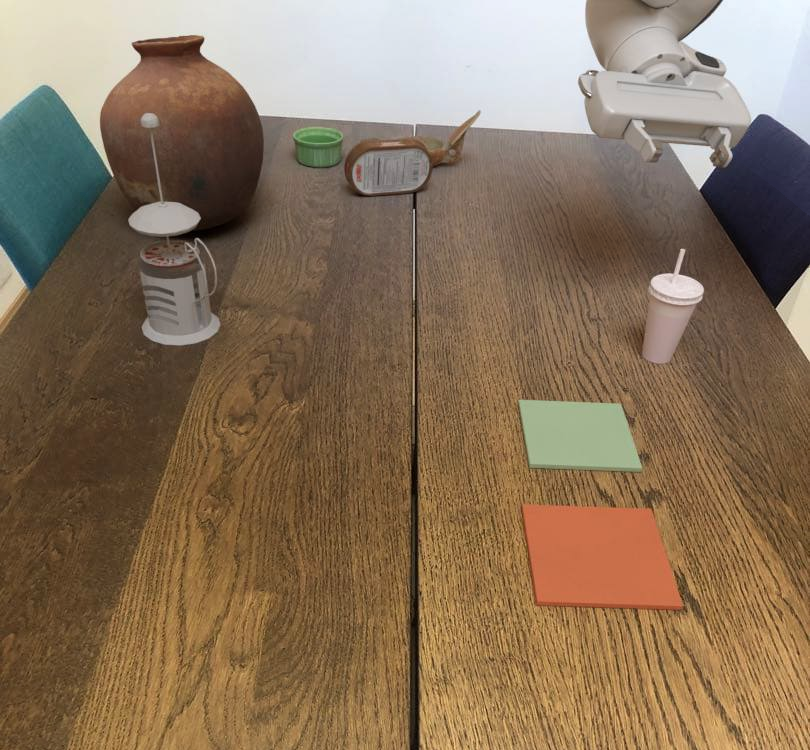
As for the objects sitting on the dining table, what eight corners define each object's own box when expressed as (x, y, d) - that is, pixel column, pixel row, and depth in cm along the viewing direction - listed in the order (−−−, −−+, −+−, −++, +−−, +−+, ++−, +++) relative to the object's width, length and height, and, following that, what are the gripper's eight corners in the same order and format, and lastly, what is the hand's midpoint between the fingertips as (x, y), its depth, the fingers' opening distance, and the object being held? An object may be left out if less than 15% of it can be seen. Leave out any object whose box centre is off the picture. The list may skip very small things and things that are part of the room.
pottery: (227, 263, 117) (206, 68, 100) (88, 234, 122) (45, 43, 105) (293, 207, 133) (285, 30, 116) (167, 183, 138) (142, 10, 121)
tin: (427, 186, 142) (430, 135, 137) (433, 193, 140) (436, 141, 134) (343, 193, 138) (343, 140, 133) (348, 200, 136) (348, 147, 131)
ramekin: (293, 151, 152) (292, 126, 149) (342, 152, 153) (342, 127, 150) (294, 169, 145) (293, 143, 142) (344, 169, 146) (344, 143, 143)
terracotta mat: (649, 513, 82) (651, 508, 82) (681, 610, 73) (683, 605, 72) (521, 508, 82) (522, 503, 81) (536, 605, 72) (537, 601, 72)
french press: (182, 299, 109) (151, 93, 92) (247, 327, 105) (227, 117, 87) (124, 327, 103) (80, 113, 86) (190, 359, 99) (157, 139, 81)
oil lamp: (472, 178, 146) (478, 117, 139) (355, 165, 148) (355, 105, 141) (477, 161, 152) (483, 103, 146) (365, 149, 154) (366, 91, 148)
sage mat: (620, 407, 95) (621, 403, 95) (641, 472, 87) (642, 467, 86) (517, 403, 95) (518, 399, 95) (529, 468, 86) (529, 463, 86)
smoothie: (627, 341, 107) (655, 236, 97) (676, 344, 107) (708, 240, 97) (635, 368, 102) (665, 260, 92) (686, 371, 102) (722, 264, 92)
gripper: (585, 44, 92) (623, 129, 87) (734, 62, 99) (778, 142, 93) (562, 95, 98) (597, 178, 92) (705, 108, 104) (745, 187, 99)
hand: (689, 160), depth 93 cm, fingers open, 8 cm apart
